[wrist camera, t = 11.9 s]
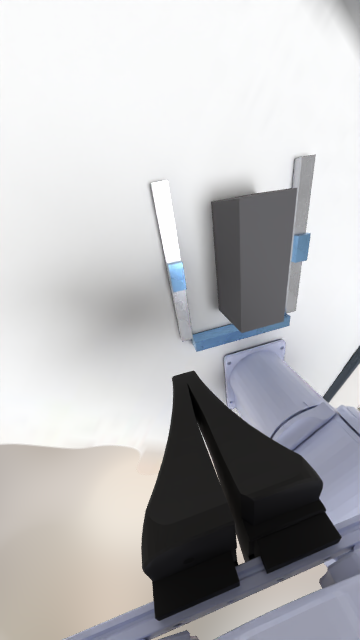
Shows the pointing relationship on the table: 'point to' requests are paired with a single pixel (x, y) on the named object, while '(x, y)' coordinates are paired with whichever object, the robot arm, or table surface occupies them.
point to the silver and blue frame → (176, 271)
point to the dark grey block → (253, 256)
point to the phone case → (346, 385)
